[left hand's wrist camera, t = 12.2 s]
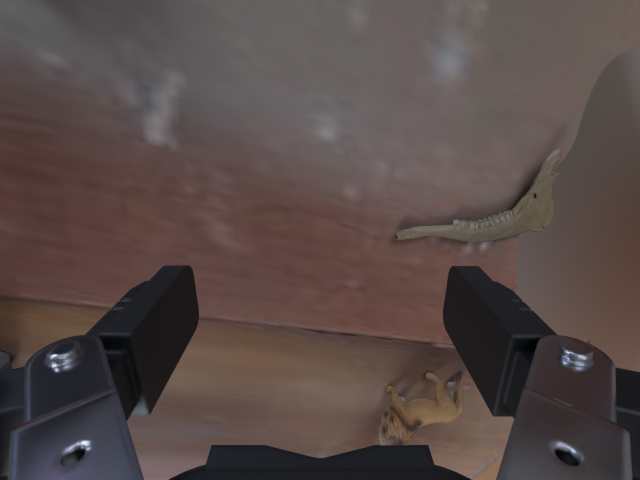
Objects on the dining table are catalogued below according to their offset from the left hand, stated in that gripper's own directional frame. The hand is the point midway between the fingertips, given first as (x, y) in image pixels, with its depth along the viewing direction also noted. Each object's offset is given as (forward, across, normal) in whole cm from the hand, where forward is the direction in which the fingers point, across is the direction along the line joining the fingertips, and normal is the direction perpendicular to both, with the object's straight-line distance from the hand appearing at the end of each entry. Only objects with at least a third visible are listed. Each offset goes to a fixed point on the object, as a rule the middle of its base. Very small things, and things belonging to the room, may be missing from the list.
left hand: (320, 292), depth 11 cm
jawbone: (+32, -18, +5) cm, 37 cm away
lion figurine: (+32, -14, +35) cm, 50 cm away
